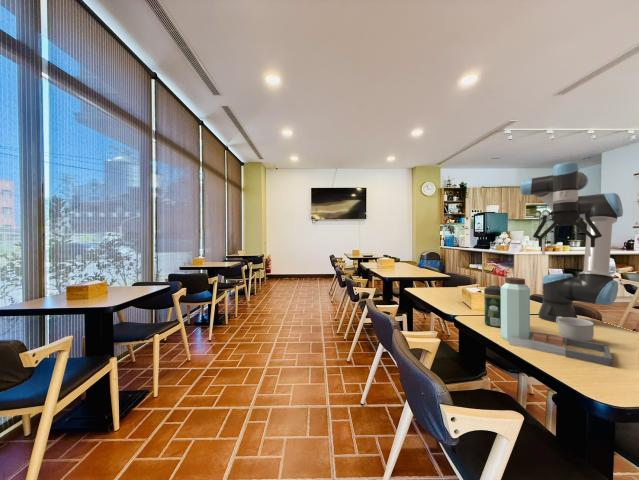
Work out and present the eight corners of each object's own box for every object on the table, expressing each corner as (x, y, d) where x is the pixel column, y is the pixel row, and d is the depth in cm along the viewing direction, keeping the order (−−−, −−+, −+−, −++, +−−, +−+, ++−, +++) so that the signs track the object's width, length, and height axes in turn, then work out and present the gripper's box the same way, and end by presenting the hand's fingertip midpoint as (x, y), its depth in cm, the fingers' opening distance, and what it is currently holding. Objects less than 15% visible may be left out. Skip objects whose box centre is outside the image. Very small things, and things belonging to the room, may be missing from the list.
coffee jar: (486, 320, 139) (485, 284, 139) (504, 323, 134) (504, 285, 134) (482, 325, 131) (482, 286, 131) (502, 328, 126) (502, 288, 126)
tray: (608, 352, 100) (608, 345, 100) (612, 366, 88) (612, 359, 88) (566, 344, 107) (566, 337, 107) (565, 356, 96) (565, 349, 96)
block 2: (563, 348, 104) (563, 337, 104) (562, 351, 101) (562, 340, 101) (549, 345, 107) (549, 334, 107) (548, 348, 104) (548, 337, 104)
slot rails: (566, 344, 107) (566, 336, 107) (565, 356, 96) (565, 347, 96) (515, 334, 118) (515, 327, 118) (508, 344, 108) (508, 336, 108)
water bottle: (494, 337, 115) (494, 277, 115) (510, 334, 119) (510, 276, 119) (520, 346, 106) (520, 281, 106) (536, 342, 110) (536, 279, 110)
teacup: (601, 346, 106) (601, 325, 106) (568, 344, 108) (568, 323, 108) (575, 334, 119) (575, 315, 119) (547, 332, 121) (546, 314, 121)
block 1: (547, 345, 107) (546, 335, 107) (546, 348, 104) (546, 337, 104) (533, 342, 109) (533, 332, 109) (533, 345, 106) (533, 335, 106)
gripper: (525, 204, 116) (525, 254, 116) (611, 198, 98) (611, 257, 99) (527, 205, 121) (527, 254, 121) (609, 200, 104) (610, 256, 104)
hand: (565, 255), depth 110 cm, fingers open, 13 cm apart
